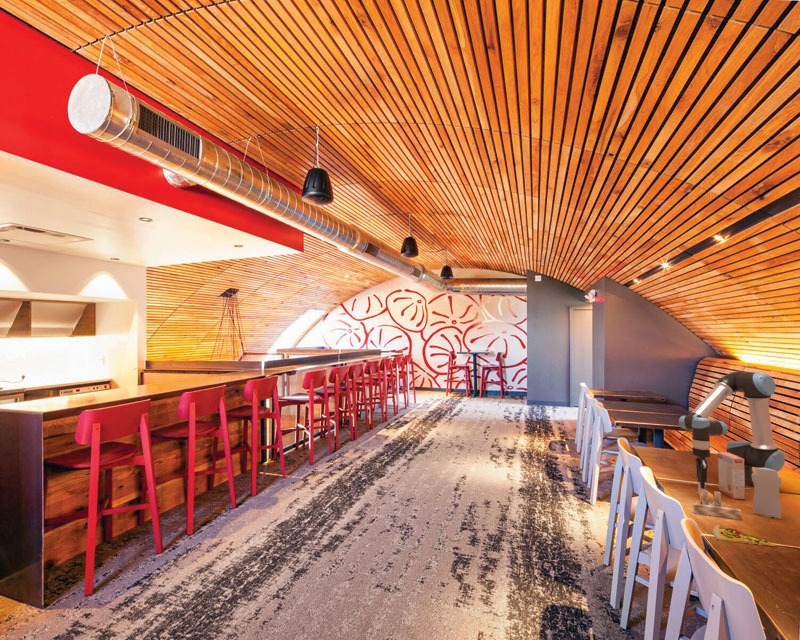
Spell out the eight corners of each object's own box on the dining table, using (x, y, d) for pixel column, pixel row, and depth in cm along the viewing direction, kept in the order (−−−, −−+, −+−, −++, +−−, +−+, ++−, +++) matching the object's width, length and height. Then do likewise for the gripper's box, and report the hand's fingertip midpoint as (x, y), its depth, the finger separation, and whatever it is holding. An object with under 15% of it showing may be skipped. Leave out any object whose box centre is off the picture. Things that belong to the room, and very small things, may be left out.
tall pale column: (781, 517, 198) (780, 468, 200) (782, 520, 195) (781, 471, 196) (752, 511, 205) (750, 464, 206) (752, 514, 201) (751, 466, 202)
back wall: (740, 518, 196) (739, 509, 197) (741, 519, 195) (741, 511, 195) (693, 511, 203) (693, 503, 203) (694, 513, 201) (694, 504, 202)
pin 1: (707, 507, 208) (707, 490, 209) (709, 509, 206) (708, 491, 207) (701, 507, 209) (701, 489, 210) (703, 508, 207) (702, 491, 207)
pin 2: (720, 509, 207) (719, 491, 207) (721, 511, 204) (721, 493, 205) (714, 508, 207) (713, 490, 208) (715, 510, 205) (715, 492, 206)
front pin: (713, 503, 209) (718, 509, 201) (712, 507, 209) (717, 514, 201) (707, 501, 210) (712, 507, 202) (706, 506, 210) (711, 512, 202)
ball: (717, 499, 209) (714, 508, 212) (713, 490, 214) (711, 498, 217) (702, 496, 211) (699, 505, 214) (699, 487, 216) (697, 495, 219)
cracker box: (746, 500, 220) (745, 458, 221) (732, 499, 221) (731, 458, 222) (730, 490, 233) (729, 452, 234) (718, 490, 235) (717, 451, 236)
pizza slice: (713, 528, 187) (712, 521, 188) (775, 541, 175) (775, 534, 175) (712, 540, 175) (712, 533, 175) (779, 556, 163) (779, 548, 163)
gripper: (689, 444, 231) (690, 489, 230) (695, 450, 219) (696, 497, 218) (706, 446, 228) (707, 491, 227) (713, 451, 216) (714, 499, 215)
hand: (702, 494), depth 222 cm, fingers closed
